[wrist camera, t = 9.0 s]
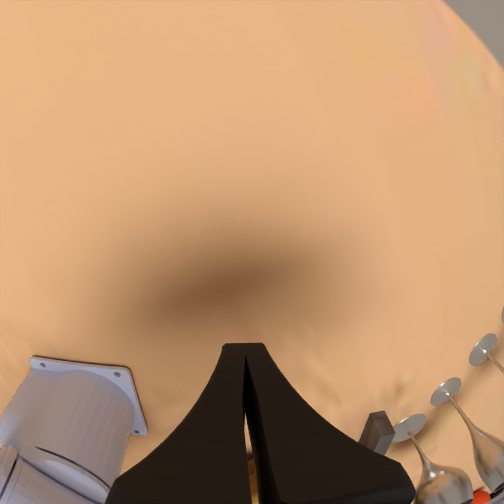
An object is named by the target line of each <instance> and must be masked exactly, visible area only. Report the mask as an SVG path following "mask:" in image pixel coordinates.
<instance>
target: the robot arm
mask: <svg viewBox="0 0 504 504" xmlns="http://www.w3.org/2000/svg"><path fill="white" fill-rule="evenodd" d="M29 361H30V364H31V366H32V369H31V371H30V372H29V374H28V375H27V376H26V378H25V379H24V381H23V382H22V384H21V385H20V387H19V388H18V390H17V391H16V393H15V394H14V396H13V397H12V399H11V400H10V402H9V404H8V405H7V407H6V408H5V410H4V412H3V415H2V418H1V422H0V441H1V445H2V447H1V448H0V504H252V497H251V489H250V481H249V473H248V464H247V454H246V444H245V433H244V424H245V413H246V419H247V425H248V430H249V435H250V441H251V446H252V451H253V457H254V462H255V469H256V478H257V490H258V502H259V504H411V503H412V501H413V500H414V498H415V496H416V490H415V488H414V485H413V483H412V481H411V479H410V477H409V476H408V474H407V472H406V471H405V470H404V468H403V467H402V465H401V463H399V462H397V461H395V460H392V459H390V458H388V457H386V456H383V455H381V454H379V453H377V452H374V451H372V450H370V449H368V448H367V447H365V446H363V445H361V444H360V443H358V442H356V441H354V440H353V439H351V438H350V437H348V436H347V435H346V434H344V433H343V432H341V431H340V430H338V429H337V428H335V427H334V426H333V425H331V424H330V423H329V422H328V421H326V420H325V419H324V418H323V417H322V416H320V415H319V414H318V413H317V412H316V411H315V410H314V409H313V408H312V407H311V406H310V405H309V404H308V403H307V402H306V401H305V400H304V399H303V398H302V397H301V396H300V395H299V394H298V393H297V391H296V390H295V389H294V388H293V387H292V386H291V384H290V383H289V382H288V381H287V379H286V378H285V377H284V375H283V374H282V373H281V371H280V370H279V368H278V367H277V365H276V364H275V362H274V361H273V359H272V358H271V356H270V354H269V353H268V351H267V349H266V347H265V345H264V344H263V343H226V344H225V345H223V346H222V351H221V355H220V358H219V360H218V363H217V365H216V368H215V370H214V372H213V374H212V376H211V378H210V380H209V382H208V384H207V385H206V387H205V389H204V390H203V392H202V394H201V395H200V397H199V399H198V400H197V402H196V403H195V405H194V406H193V408H192V409H191V410H190V412H189V413H188V414H187V416H186V417H185V418H184V419H183V421H182V422H181V423H180V424H179V425H178V426H177V428H176V429H175V430H174V431H173V432H172V433H171V434H170V435H169V436H168V437H167V438H166V439H165V440H164V441H163V442H162V443H161V444H160V445H159V446H158V447H157V448H156V449H154V450H153V451H152V452H151V453H150V454H149V455H148V456H147V457H145V458H144V459H143V460H142V461H140V462H139V463H138V464H136V465H135V466H133V467H132V468H131V469H129V470H128V471H126V472H125V473H123V474H122V475H120V472H121V468H122V464H123V460H124V456H125V452H126V448H127V444H128V440H129V436H130V434H133V435H147V433H148V429H147V426H146V423H145V420H144V417H143V414H142V410H141V407H140V404H139V401H138V397H137V394H136V390H135V387H134V383H133V379H132V376H131V372H130V371H129V370H128V369H127V368H125V367H115V366H104V365H94V364H84V363H76V362H68V361H61V360H54V359H47V358H41V357H34V356H32V357H31V358H30V360H29ZM116 372H118V373H120V374H118V373H116ZM485 504H504V492H503V493H502V494H500V495H498V496H497V497H495V498H494V499H492V500H490V501H489V502H487V503H485Z"/></svg>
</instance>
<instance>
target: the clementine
mask: <svg viewBox="0 0 504 504" xmlns="http://www.w3.org/2000/svg"><path fill="white" fill-rule="evenodd" d="M473 497H474V500H473V501H472V503H471V504H485V503H487V502H489V501H490V500H491V498H490V495H489V494H488V493H487V492H486V491H477V492H474V493H473Z"/></svg>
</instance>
